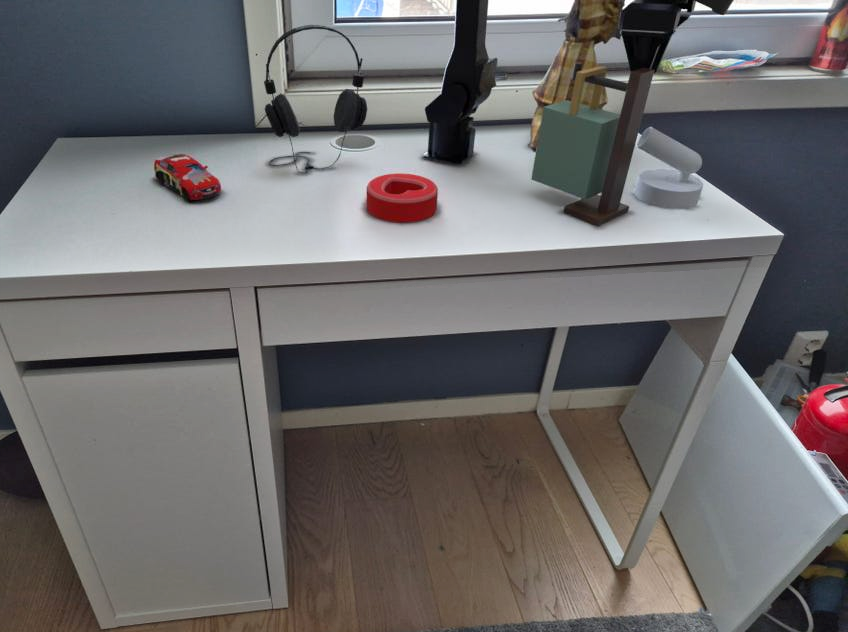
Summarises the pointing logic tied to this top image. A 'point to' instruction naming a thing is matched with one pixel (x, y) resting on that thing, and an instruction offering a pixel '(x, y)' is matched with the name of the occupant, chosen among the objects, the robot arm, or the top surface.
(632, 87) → the hook stand
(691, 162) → the grey spotlight lamp
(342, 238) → the top surface
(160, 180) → the race car
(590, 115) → the tote bag
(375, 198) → the decorative ornament
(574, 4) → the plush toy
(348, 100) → the headphones
